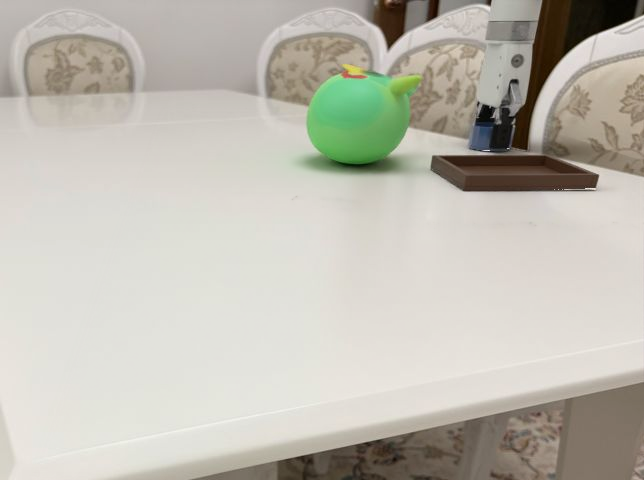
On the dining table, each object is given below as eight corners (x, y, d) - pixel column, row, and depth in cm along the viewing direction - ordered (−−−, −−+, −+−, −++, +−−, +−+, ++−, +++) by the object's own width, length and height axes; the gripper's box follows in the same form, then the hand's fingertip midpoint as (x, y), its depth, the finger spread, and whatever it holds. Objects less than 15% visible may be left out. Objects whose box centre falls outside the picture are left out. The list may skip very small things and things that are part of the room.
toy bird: (308, 151, 120) (315, 60, 113) (408, 154, 116) (421, 61, 109) (298, 171, 104) (305, 67, 97) (413, 176, 100) (429, 69, 94)
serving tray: (545, 168, 104) (548, 154, 104) (595, 190, 91) (599, 174, 90) (430, 169, 105) (432, 155, 104) (463, 191, 92) (466, 175, 91)
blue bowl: (500, 145, 123) (505, 122, 122) (517, 151, 117) (522, 127, 115) (462, 145, 124) (465, 122, 122) (476, 152, 117) (480, 128, 116)
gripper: (558, 34, 104) (533, 153, 112) (511, 32, 120) (491, 136, 128) (509, 35, 105) (487, 153, 112) (468, 32, 120) (451, 136, 128)
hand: (489, 143), depth 120 cm, fingers closed on blue bowl, 7 cm apart
